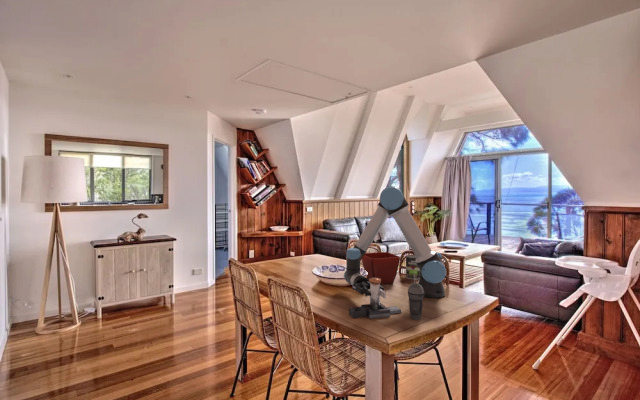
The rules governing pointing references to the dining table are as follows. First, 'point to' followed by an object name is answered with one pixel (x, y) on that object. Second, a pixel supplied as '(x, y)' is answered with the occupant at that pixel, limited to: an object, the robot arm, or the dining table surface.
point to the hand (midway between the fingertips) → (380, 295)
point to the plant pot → (381, 266)
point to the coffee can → (412, 268)
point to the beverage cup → (415, 300)
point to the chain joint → (372, 311)
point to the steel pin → (376, 289)
